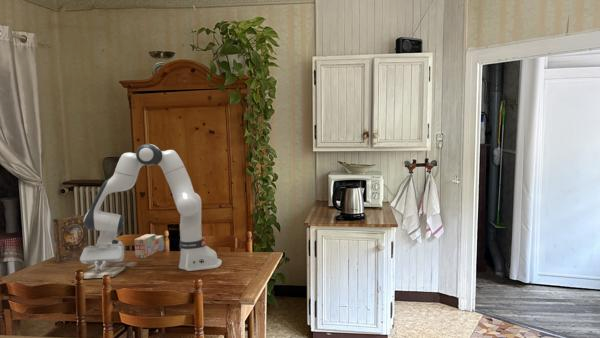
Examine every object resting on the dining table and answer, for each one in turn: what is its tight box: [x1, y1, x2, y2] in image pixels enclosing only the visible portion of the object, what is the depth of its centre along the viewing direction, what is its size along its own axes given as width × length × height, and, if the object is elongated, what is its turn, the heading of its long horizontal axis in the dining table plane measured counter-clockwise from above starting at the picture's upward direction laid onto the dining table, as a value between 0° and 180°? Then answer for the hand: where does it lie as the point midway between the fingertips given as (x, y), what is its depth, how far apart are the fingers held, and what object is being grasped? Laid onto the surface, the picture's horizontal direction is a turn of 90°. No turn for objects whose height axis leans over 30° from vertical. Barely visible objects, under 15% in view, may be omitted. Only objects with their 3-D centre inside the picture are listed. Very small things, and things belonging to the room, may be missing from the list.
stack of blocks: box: [134, 233, 165, 259], centre depth 238 cm, size 21×6×12 cm, turn 169°
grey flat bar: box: [86, 261, 139, 270], centre depth 213 cm, size 24×6×2 cm, turn 94°
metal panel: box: [83, 267, 126, 279], centre depth 201 cm, size 16×17×2 cm
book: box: [52, 214, 89, 264], centre depth 232 cm, size 16×6×25 cm, turn 144°
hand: (98, 269), depth 195 cm, fingers closed
